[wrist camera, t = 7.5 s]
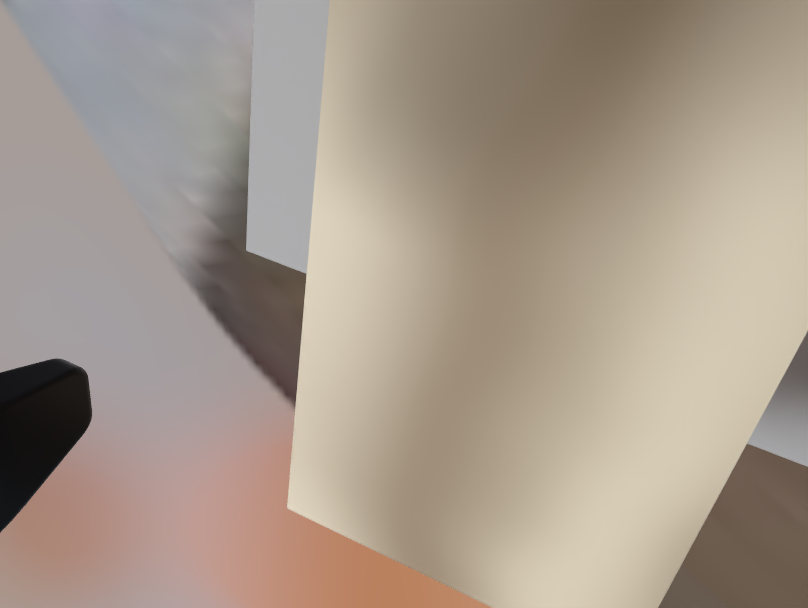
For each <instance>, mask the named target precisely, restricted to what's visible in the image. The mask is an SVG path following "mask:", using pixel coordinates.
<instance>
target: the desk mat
mask: <svg viewBox="0 0 808 608" xmlns="http://www.w3.org/2000/svg"><path fill="white" fill-rule="evenodd" d="M329 2H330V0H254V27H253V58H252V89H251V120H250V151H249V182H248V213H247V244H246V251H249V252H251V253H254V254H257V255H259V256H262V257H264V258H267V259H270V260H272V261H275V262H277V263H280V264H283V265H285V266H288V267H290V268H293V269H296V270H298V271H301V272H303V273H306V274H307V265H308V253H309V241H310V229H311V217H312V205H313V193H314V181H315V170H316V158H317V146H318V134H319V122H320V110H321V98H322V86H323V74H324V62H325V50H326V38H327V26H328V14H329ZM747 444H750V445H753V446H755V447H758V448H760V449H763V450H766V451H768V452H771V453H773V454H776V455H779V456H781V457H784V458H786V459H789V460H792V461H794V462H797V463H799V464H802V465H805V466H807V467H808V331H807V333H806V335H805V337H804V339H803V341H802V342H801V344H800V346H799V348H798V350H797V352H796V353H795V355H794V357H793V359H792V361H791V363H790V365H789V366H788V368H787V370H786V372H785V374H784V376H783V378H782V379H781V381H780V383H779V385H778V387H777V389H776V390H775V392H774V394H773V396H772V398H771V400H770V402H769V403H768V405H767V407H766V409H765V411H764V413H763V414H762V416H761V418H760V420H759V422H758V424H757V426H756V427H755V429H754V431H753V433H752V435H751V437H750V438H749V440H748V442H747Z"/></svg>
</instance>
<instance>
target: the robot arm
mask: <svg viewBox="0 0 808 608" xmlns="http://www.w3.org/2000/svg"><path fill="white" fill-rule="evenodd" d="M91 418H92V408H91V398H90V390H89V381H88V375H87V373H86V372H85V370H84V369H83V368H81V367H79V366H77V365H74V364H72V363H70V362H68V361H66V360H63V359H51V360H47V361H43V362H39V363H35V364H31V365H28V366H24V367H20V368H16V369H12V370H9V371H5V372H1V373H0V532H1V531H2V530H3V529H4V528H5V527H6V526H7V525H8V524H9V523H10V522H11V521H12V519H14V517H15V516H16V515H17V514H18V513H19V512H20V510H21V509H22V508H23V507H24V506H25V505H26V504H27V502H28V501H29V500H30V499H31V497H32V496H33V495H34V494H35V493H36V491H37V490H38V489H39V488H40V486H41V485H42V484H43V483H44V481H45V480H46V479H47V478H48V477H49V476H50V474H51V473H52V472H53V471H54V469H55V468H56V467H57V466H58V465H59V463H60V462H61V461H62V460H63V458H64V457H65V456H66V455H67V454H68V452H69V451H70V450H71V449H72V448H73V446H74V445H75V444H76V442H77V441H78V440H79V439H80V438H81V437H82V435H83V434H84V433H85V431H86V430H87V428H88V426H89V424H90V422H91Z"/></svg>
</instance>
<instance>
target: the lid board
mask: <svg viewBox="0 0 808 608" xmlns="http://www.w3.org/2000/svg"><path fill="white" fill-rule="evenodd" d="M807 331H808V0H330V2H329V14H328V26H327V38H326V50H325V62H324V74H323V86H322V98H321V110H320V122H319V134H318V146H317V158H316V170H315V181H314V193H313V205H312V217H311V229H310V241H309V253H308V265H307V277H306V289H305V301H304V313H303V325H302V337H301V349H300V361H299V373H298V385H297V397H296V409H295V421H294V433H293V445H292V457H291V469H290V482H289V493H288V504H287V508H288V509H290V510H292V511H294V512H296V513H298V514H300V515H302V516H304V517H306V518H309V519H310V520H313V521H314V522H317V523H319V524H321V525H323V526H325V527H327V528H329V529H331V530H333V531H335V532H338V533H340V534H342V535H343V536H346V537H348V538H350V539H352V540H354V541H356V542H358V543H360V544H362V545H364V546H367V547H368V548H370V549H372V550H374V551H377V552H379V553H381V554H383V555H385V556H387V557H389V558H391V559H393V560H395V561H397V562H399V563H401V564H403V565H406V566H408V567H410V568H412V569H414V570H416V571H418V572H420V573H422V574H424V575H426V576H429V577H431V578H432V579H435V580H437V581H439V582H441V583H443V584H445V585H447V586H449V587H451V588H453V589H455V590H457V591H459V592H461V593H463V594H466V595H468V596H470V597H472V598H474V599H476V600H478V601H480V602H482V603H484V604H486V605H488V606H491V607H493V608H658V607H659V605H660V603H661V601H662V599H663V597H664V596H665V594H666V592H667V590H668V588H669V586H670V584H671V583H672V581H673V579H674V577H675V575H676V573H677V572H678V570H679V568H680V566H681V564H682V562H683V560H684V559H685V557H686V555H687V553H688V551H689V549H690V547H691V546H692V544H693V542H694V540H695V538H696V536H697V535H698V533H699V531H700V529H701V527H702V525H703V523H704V522H705V520H706V518H707V516H708V514H709V512H710V511H711V509H712V507H713V505H714V503H715V501H716V499H717V498H718V496H719V494H720V492H721V490H722V488H723V487H724V485H725V483H726V481H727V479H728V477H729V475H730V474H731V472H732V470H733V468H734V466H735V464H736V463H737V461H738V459H739V457H740V455H741V453H742V451H743V450H744V448H745V446H746V444H747V442H748V440H749V438H750V437H751V435H752V433H753V431H754V429H755V427H756V426H757V424H758V422H759V420H760V418H761V416H762V414H763V413H764V411H765V409H766V407H767V405H768V403H769V402H770V400H771V398H772V396H773V394H774V392H775V390H776V389H777V387H778V385H779V383H780V381H781V379H782V378H783V376H784V374H785V372H786V370H787V368H788V366H789V365H790V363H791V361H792V359H793V357H794V355H795V353H796V352H797V350H798V348H799V346H800V344H801V342H802V341H803V339H804V337H805V335H806V333H807Z"/></svg>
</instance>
